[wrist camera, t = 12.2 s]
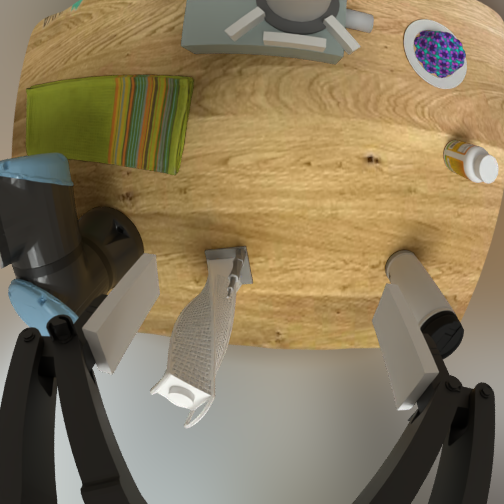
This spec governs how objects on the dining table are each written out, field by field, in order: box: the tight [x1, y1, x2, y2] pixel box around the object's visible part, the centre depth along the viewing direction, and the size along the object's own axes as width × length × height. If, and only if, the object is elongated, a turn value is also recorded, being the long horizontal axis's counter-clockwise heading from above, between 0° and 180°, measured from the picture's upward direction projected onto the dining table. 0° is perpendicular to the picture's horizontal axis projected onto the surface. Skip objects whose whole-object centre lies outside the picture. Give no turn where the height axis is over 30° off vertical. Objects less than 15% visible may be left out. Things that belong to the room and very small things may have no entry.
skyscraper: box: [150, 246, 253, 428], centre depth 37 cm, size 8×8×28 cm
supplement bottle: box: [444, 140, 498, 183], centre depth 31 cm, size 5×5×10 cm
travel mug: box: [385, 250, 464, 359], centre depth 36 cm, size 6×7×20 cm
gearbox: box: [181, 0, 374, 64], centre depth 26 cm, size 24×14×8 cm, turn 85°
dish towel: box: [26, 75, 194, 175], centre depth 38 cm, size 15×36×3 cm, turn 80°
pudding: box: [404, 19, 467, 89], centre depth 26 cm, size 12×12×5 cm
